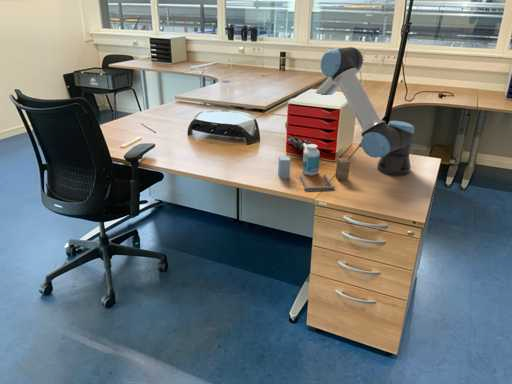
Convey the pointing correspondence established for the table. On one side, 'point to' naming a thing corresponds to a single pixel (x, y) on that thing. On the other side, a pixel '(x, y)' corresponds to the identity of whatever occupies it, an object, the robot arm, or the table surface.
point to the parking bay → (317, 187)
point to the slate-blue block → (284, 167)
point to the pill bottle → (311, 160)
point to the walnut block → (342, 169)
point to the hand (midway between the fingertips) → (306, 150)
